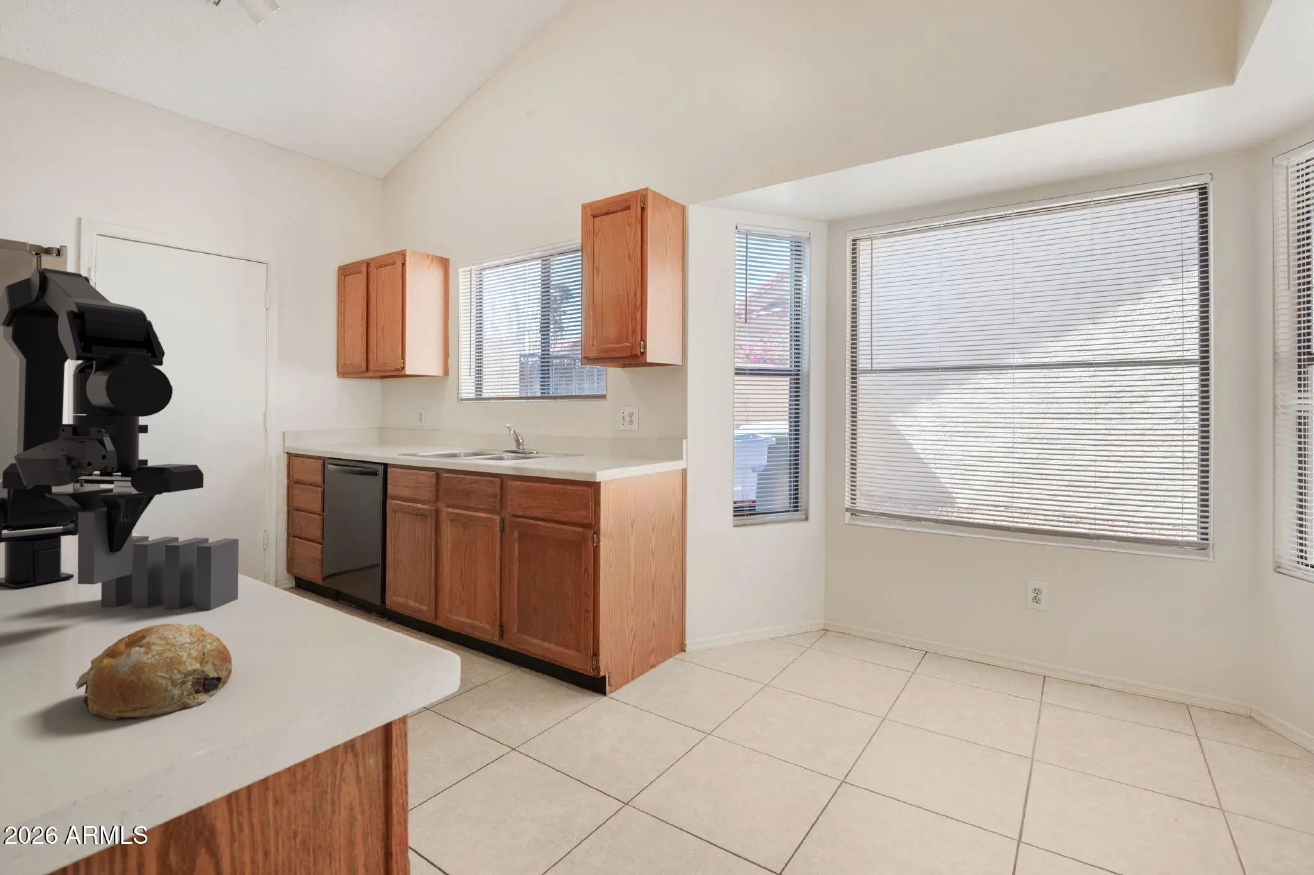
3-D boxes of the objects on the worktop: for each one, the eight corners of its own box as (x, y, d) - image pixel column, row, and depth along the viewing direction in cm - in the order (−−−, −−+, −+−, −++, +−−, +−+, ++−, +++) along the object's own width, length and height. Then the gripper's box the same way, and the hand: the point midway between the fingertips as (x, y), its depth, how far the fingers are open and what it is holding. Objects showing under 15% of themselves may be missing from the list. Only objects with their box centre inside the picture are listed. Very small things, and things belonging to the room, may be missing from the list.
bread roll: (145, 770, 50) (189, 681, 50) (30, 711, 50) (73, 622, 50) (232, 712, 60) (268, 638, 60) (136, 663, 60) (172, 589, 60)
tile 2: (101, 606, 79) (101, 543, 79) (135, 595, 84) (135, 535, 84) (115, 607, 79) (115, 543, 79) (148, 596, 84) (148, 536, 84)
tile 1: (77, 584, 70) (78, 512, 70) (117, 573, 75) (117, 506, 75) (93, 584, 70) (94, 512, 70) (132, 573, 75) (132, 506, 75)
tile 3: (132, 607, 79) (133, 544, 78) (164, 596, 84) (165, 536, 83) (147, 608, 79) (147, 544, 78) (178, 597, 84) (178, 537, 83)
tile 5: (196, 609, 79) (196, 545, 78) (224, 598, 84) (225, 538, 83) (210, 610, 79) (211, 546, 78) (237, 599, 84) (238, 538, 83)
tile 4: (164, 608, 79) (165, 544, 78) (194, 597, 84) (195, 537, 83) (178, 609, 79) (179, 545, 78) (208, 598, 84) (208, 538, 83)
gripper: (-55, 412, 64) (-55, 565, 64) (127, 417, 64) (126, 570, 64) (52, 413, 75) (52, 544, 76) (207, 417, 75) (206, 548, 75)
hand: (106, 551), depth 72 cm, fingers closed on tile 1, 2 cm apart
